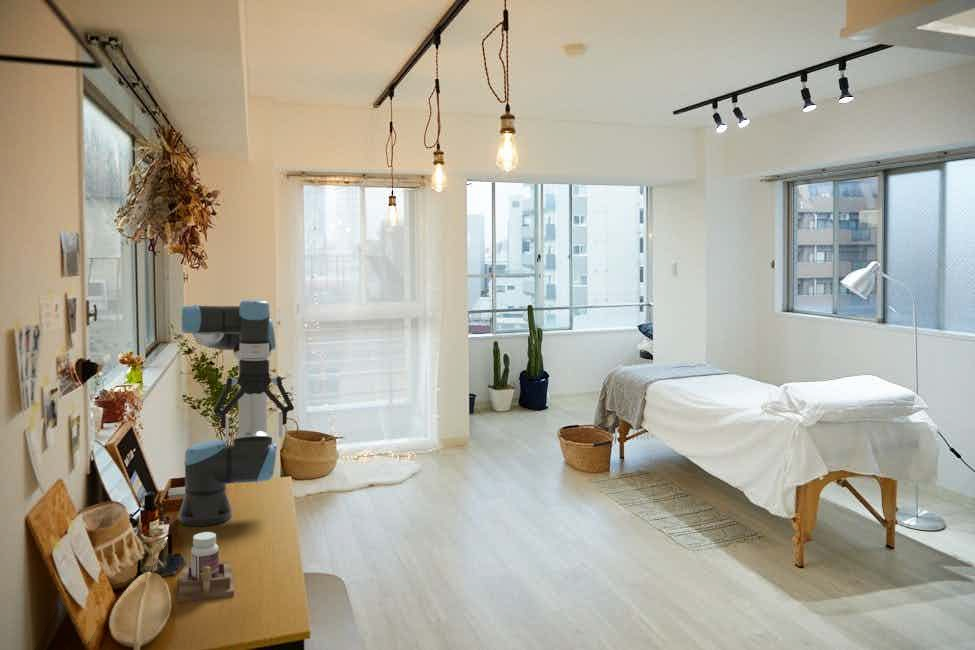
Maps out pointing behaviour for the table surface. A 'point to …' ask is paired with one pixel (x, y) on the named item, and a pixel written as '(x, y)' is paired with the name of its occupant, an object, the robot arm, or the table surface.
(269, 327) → the robot arm
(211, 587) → the holder
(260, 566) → the table surface
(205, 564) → the pill bottle
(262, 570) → the table surface
